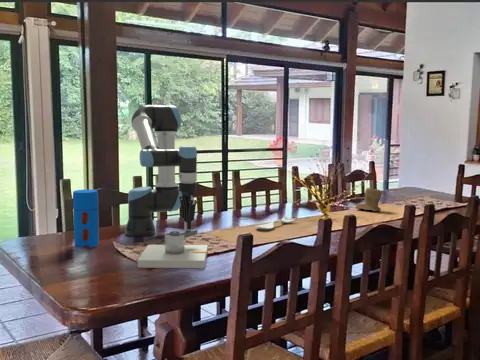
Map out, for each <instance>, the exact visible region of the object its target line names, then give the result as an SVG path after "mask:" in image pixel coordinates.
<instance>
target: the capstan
mask: <svg viewBox="0 0 480 360" xmlns="http://www.w3.org/2000/svg"><path fill="white" fill-rule="evenodd" d="M195 235H198V229H195V228H194V229H191V230H190V231H187V232H180V231H177V230H174V231H173V230H172V231H170V232H166V233H165V234H164V245H165V253H167V254H181V253H184V245H185V238H190V237H194V236H195Z"/></svg>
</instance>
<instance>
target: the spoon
mask: <svg viewBox="0 0 480 360" xmlns="http://www.w3.org/2000/svg"><path fill="white" fill-rule="evenodd" d="M297 220H298V217H296V218H295V217H294V218H289V217H288V216H286V215H284V216H283V217H282V218H281V219H275V220H273V221H271V222H269V223H265V224H260V225H255V226H254V227H255V228H257V229H259V230H263V231H269V230H272V229H273V228H274V227H275V223H276V224H277V223H279V222H280V223H283V224H290V223H292V222H295V221H297Z"/></svg>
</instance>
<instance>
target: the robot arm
mask: <svg viewBox="0 0 480 360" xmlns="http://www.w3.org/2000/svg"><path fill="white" fill-rule="evenodd" d="M130 122H131V127H132V128H133V131H135V132H136V135H137V138H138V142H139V145H140V149H141V150H140V151H139V163H140V166H142V168H143V167H144V168H155V167H157V180H158V182H157V183H156V184H155V189H153V187H151V186H140V187H135V188H132V189H130V190H129V191H128V195H127V196H128V197H127V201H128V202H127V203H128V204H127V205H128V206H127V208H128V212H127V213H128V218H127V219H128V220H127V223H126V225H125V226H126V227H125V228H124V234H125V236H129V237H136V238H137V237H149V236H153V235H155V234H156V233H157V232H156V231H157V230H156V225H155V222H154V220H153V213H165V212H169V213H170V212H176V211H178V210H180V211H181V213H180V214H181V219H183V221H184V222H183V223H184V225H183V226H184V227H183V228H184V232H187V231H190V230H192V222H195V214H196V208H197V207H196V206H197V201H198V200H197V199H195V196H194V192H197V190H198V189H197V188H198V187H197V184H198V183H197V181H198V176H197V175H198V172H197V171H198V169H197V165H198V163H197V162H198V160H197V159H198V153H197V147H196V146H194V145H181V146H179V148H176V144H175V141H176V138H175V136H176V134H177V133H178V129H181V127H182V118H181V113H180V110H179V108H178V107H177V106H176V105H170V104H160V105H159V104H158V105H157V104H146V105H142V106H140V107H139V108H137V109H136V110H135V111H134V112H133V114H132V117H131V121H130ZM153 129H154V130H153ZM155 134H156V135H157V139H156V136H155ZM176 167H178V182H179V183H177V182H176Z"/></svg>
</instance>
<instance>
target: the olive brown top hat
mask: <svg viewBox="0 0 480 360" xmlns="http://www.w3.org/2000/svg"><path fill="white" fill-rule="evenodd" d="M382 194H383V193H382V190H381V189H378V188H371V187H366V188H365V191H364V197H365V202H364V203H363V204H362V203H359V204H357V205H355V206H354V208H355V209H357V210H361V209H363V210H362V211H366V210H372V211H371V212H379V211H378V210H380V211H381V210H382V209H381V208H380V207H379V202H380V201H381V198H382Z"/></svg>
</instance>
